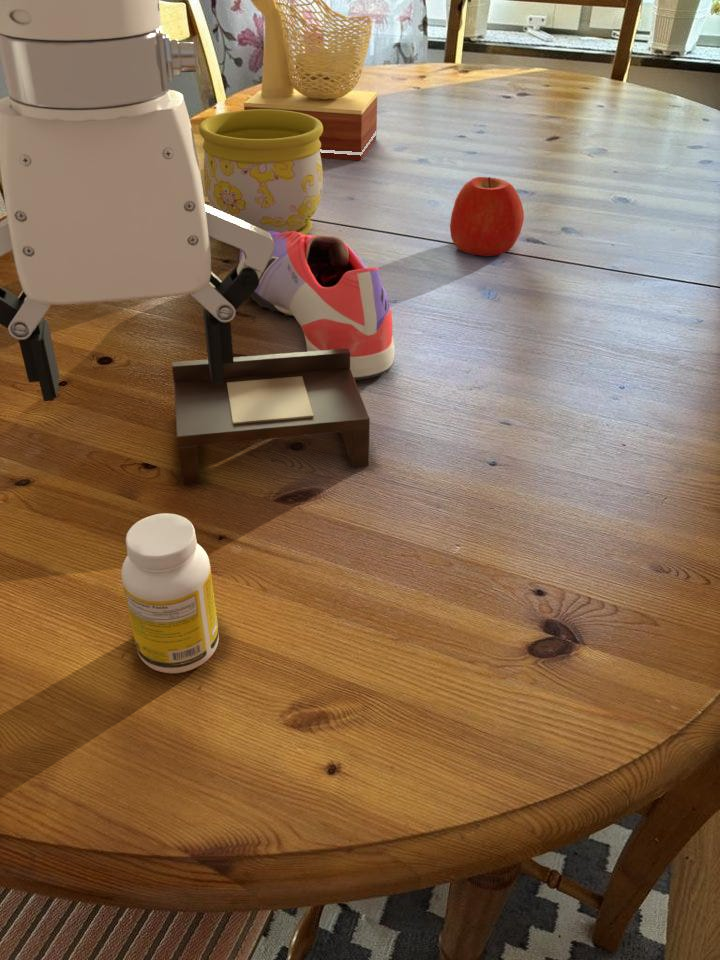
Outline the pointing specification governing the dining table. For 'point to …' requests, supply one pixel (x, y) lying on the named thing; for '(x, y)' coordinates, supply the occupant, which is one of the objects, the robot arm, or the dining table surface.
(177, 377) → the shelf
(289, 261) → the coral sneaker
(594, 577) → the dining table surface
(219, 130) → the flowerpot
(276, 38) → the beige netted upright structure
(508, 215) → the apple
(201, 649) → the pill bottle
